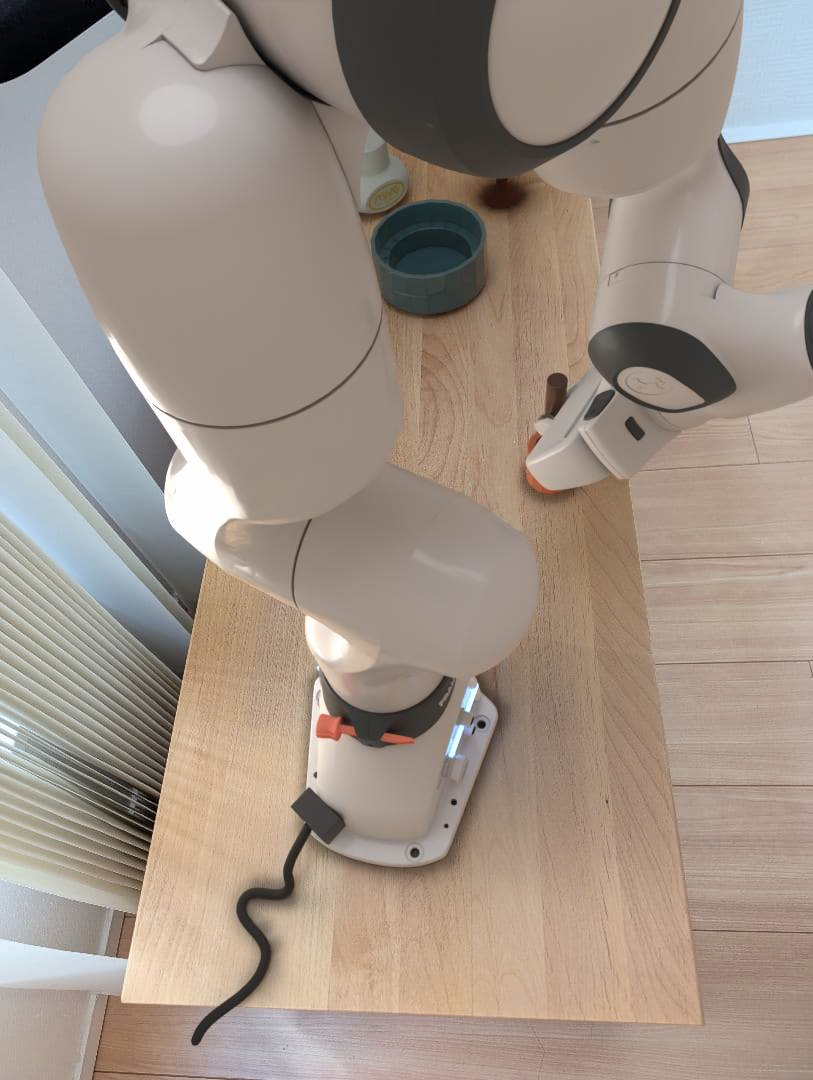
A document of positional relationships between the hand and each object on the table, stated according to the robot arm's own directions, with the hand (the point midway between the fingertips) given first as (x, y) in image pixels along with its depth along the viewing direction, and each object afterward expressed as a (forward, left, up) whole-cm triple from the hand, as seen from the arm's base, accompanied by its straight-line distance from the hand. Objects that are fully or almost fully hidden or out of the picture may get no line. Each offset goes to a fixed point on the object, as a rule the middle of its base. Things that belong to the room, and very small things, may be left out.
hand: (548, 415), depth 80 cm
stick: (0, -1, -6) cm, 6 cm away
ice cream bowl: (+49, +12, -12) cm, 52 cm away
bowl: (+31, +19, -11) cm, 38 cm away
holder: (0, -1, -11) cm, 11 cm away
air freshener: (+47, +31, -12) cm, 58 cm away
